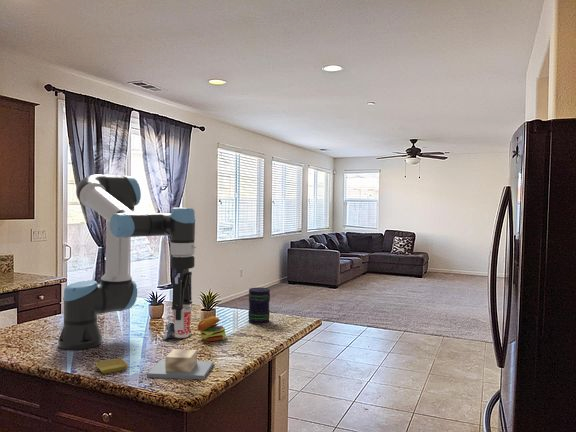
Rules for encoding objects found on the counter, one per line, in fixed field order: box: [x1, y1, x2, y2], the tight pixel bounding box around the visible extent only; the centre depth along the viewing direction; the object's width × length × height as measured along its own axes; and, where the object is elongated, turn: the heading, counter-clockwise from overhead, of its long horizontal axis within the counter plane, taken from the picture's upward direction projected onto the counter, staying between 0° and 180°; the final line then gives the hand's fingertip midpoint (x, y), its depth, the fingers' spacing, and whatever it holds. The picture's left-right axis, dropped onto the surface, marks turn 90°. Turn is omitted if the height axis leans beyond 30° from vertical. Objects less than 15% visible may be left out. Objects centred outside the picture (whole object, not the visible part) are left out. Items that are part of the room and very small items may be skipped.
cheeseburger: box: [197, 315, 227, 342], centre depth 188 cm, size 10×11×10 cm
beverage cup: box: [172, 306, 193, 339], centre depth 151 cm, size 6×6×14 cm
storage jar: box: [247, 287, 271, 325], centre depth 215 cm, size 10×10×15 cm
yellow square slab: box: [94, 357, 129, 375], centre depth 152 cm, size 9×9×2 cm
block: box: [164, 348, 198, 372], centre depth 151 cm, size 8×8×4 cm
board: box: [146, 359, 214, 380], centre depth 151 cm, size 18×13×1 cm
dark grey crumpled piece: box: [162, 322, 192, 341], centre depth 190 cm, size 12×7×12 cm
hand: (182, 326), depth 151 cm, fingers closed on beverage cup, 6 cm apart
